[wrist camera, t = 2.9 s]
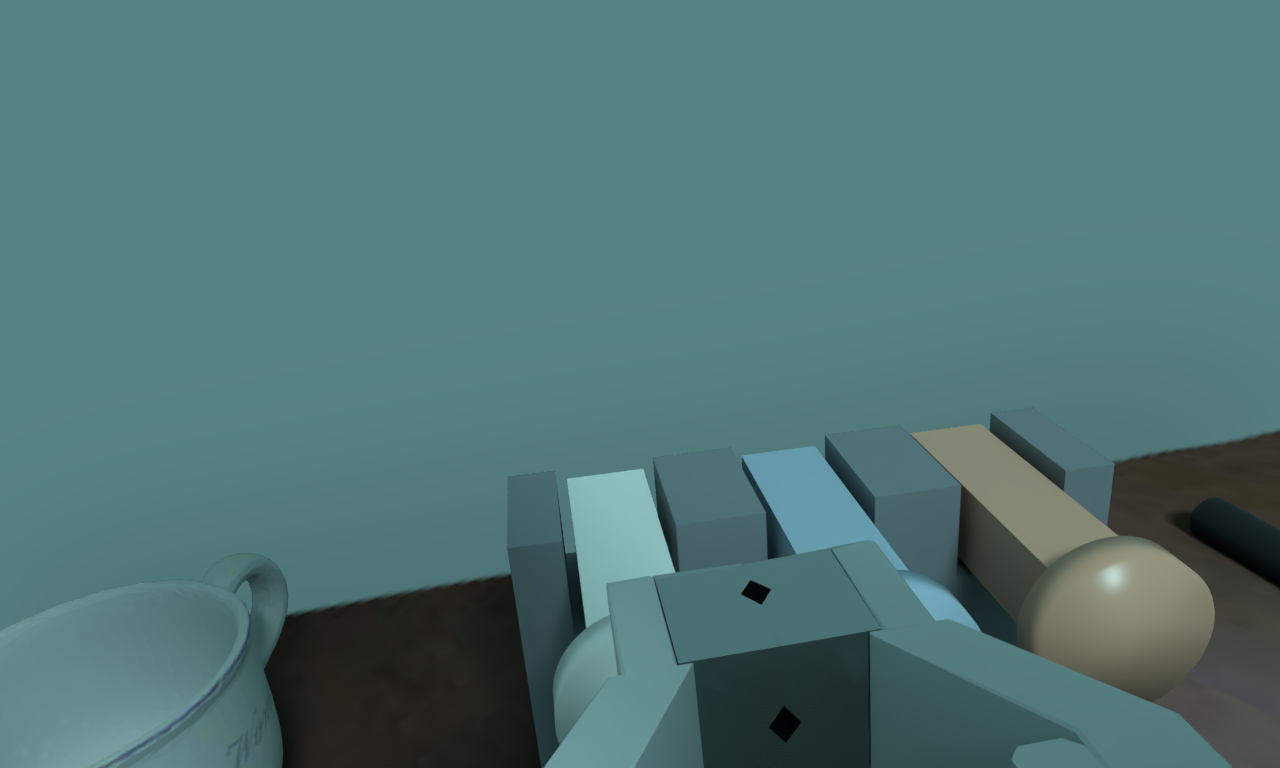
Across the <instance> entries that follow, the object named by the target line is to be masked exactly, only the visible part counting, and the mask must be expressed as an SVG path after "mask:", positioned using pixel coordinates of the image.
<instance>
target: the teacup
mask: <svg viewBox="0 0 1280 768" xmlns="http://www.w3.org/2000/svg"><path fill="white" fill-rule="evenodd" d="M245 580H247V581H248V583H249V585H250V588H251V591H252V610H251V615H249V612H248V610H247V607H246V605H245V603H244V602H243V601H242V600H241V599H240V598H239V597H238V596H236V595H235V593H236V591H237V589H238V588H239V586H240V585H241V583H243V582H244V581H245ZM287 607H288V591H287V585H286V581H285V579H284V576H283V574H282V572H281V571H280V569H279V568H278V566H277V565H276V564H275V563H274V562H273V561H271V560H270V559H269V558H266V557H264V556H262V555H259V554H251V553H240V554H235V555H230V556H227V557H225V558H223V559H221V560H220V561H218V562H217V563H216V564H215V565H214V566H213V567H212V568H211V569H210V570H209V571H208V572H207V573H206V574H205V576H204V578H203V580H202V582H201V581H194V580H164V581H155V582H142V583H138V584H132V585H126V586H120V587H115V588H110V589H107V590H105V591H101V592H97V593H93V594H90V595H88V596H86V597H83V598H79V599H75V600H72V601H69V602H66V603H63V604H60V605H58V606H54V607H52V608H49V609H47V610H45V611H43V612H41V613H39V614H36V615H33V616H31V617H28V618H26V619H25V620H22V621H20V622H18V623H15V624H13V625H11V626H9V627H7V628H6V629H3V630H1V631H0V768H282V761H283V745H282V734H281V729H280V724H279V719H278V715H277V712H276V708H275V704H274V701H273V697H272V694H271V691H270V688H269V685H268V682H267V679H266V676H265V673H264V668H265V666H266V664H267V662H268V660H269V658H270V656H271V654H272V652H273V650H274V648H275V646H276V644H277V641H278V639H279V636H280V634H281V631H282V628H283V625H284V622H285V617H286V612H287Z"/></svg>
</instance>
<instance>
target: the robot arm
mask: <svg viewBox="0 0 1280 768" xmlns="http://www.w3.org/2000/svg"><path fill="white" fill-rule="evenodd" d="M606 591H607V598H608V606H609V613H610V621H611V628H612V636H613V643H614V651H615V658H616V666H617V673H618V676H613V677H609V678H608V679H607V680H606V681H605V683H604V684H603V686H602V687H601V688H600V690H599V691H598V693H597V694H596V695H595V697H594V698H593V700H592V701H591V702H590V704H589V705H588V706H587V708H586V709H585V711H584V712H583V713H582V715H581V716H580V718H579V719H578V720H577V722H576V723H575V725H574V726H573V727H572V729H571V730H570V732H569V733H568V734H567V736H566V737H565V739H564V740H563V741H562V743H561V744H560V745H559V747H558V748H557V750H556V751H555V752H554V754H553V755H552V757H551V758H550V759H549V761H548V762H547V764H546V765H545V766H544V768H1233V767H1232V766H1231V765H1230V764H1229V763H1228V762H1227V761H1226V760H1225V759H1224V758H1223V757H1221V756H1220V755H1219V754H1218V753H1217V752H1216V751H1215V750H1214V749H1213V748H1212V747H1211V746H1210V745H1209V744H1208V743H1207V742H1206V741H1205V740H1204V739H1203V738H1202V737H1201V736H1200V735H1199V734H1198V733H1197V732H1196V731H1195V730H1194V729H1193V728H1192V727H1191V726H1190V725H1189V724H1188V723H1187V722H1186V721H1185V720H1184V719H1183V718H1182V717H1181V716H1180V715H1179V714H1178V713H1175V712H1173V711H1171V710H1168V709H1166V708H1163V707H1161V706H1159V705H1156V704H1154V703H1151V702H1149V701H1146V700H1144V699H1142V698H1139V697H1137V696H1134V695H1132V694H1130V693H1127V692H1125V691H1122V690H1120V689H1117V688H1115V687H1113V686H1110V685H1108V684H1105V683H1103V682H1100V681H1098V680H1096V679H1093V678H1091V677H1088V676H1086V675H1084V674H1081V673H1079V672H1076V671H1074V670H1071V669H1069V668H1067V667H1064V666H1062V665H1059V664H1057V663H1055V662H1052V661H1050V660H1047V659H1045V658H1042V657H1040V656H1038V655H1035V654H1033V653H1030V652H1028V651H1025V650H1023V649H1021V648H1018V647H1016V646H1013V645H1011V644H1009V643H1006V642H1004V641H1001V640H999V639H996V638H994V637H992V636H989V635H987V634H984V633H982V632H980V631H977V630H975V629H972V628H970V627H967V626H965V625H963V624H960V623H958V622H955V621H953V620H950V619H944V620H938V621H935V620H934V618H933V617H932V616H931V614H930V613H929V612H928V610H927V609H926V608H925V606H924V605H923V604H922V603H921V601H920V600H919V599H918V597H917V596H916V595H915V593H914V592H913V591H912V589H911V588H910V587H909V585H908V584H907V583H906V582H905V580H904V579H903V578H902V576H901V575H900V574H899V572H898V571H897V570H896V568H895V567H894V566H893V564H892V563H891V562H890V561H889V559H888V558H887V557H886V555H885V554H884V553H883V551H882V550H881V549H880V547H879V546H878V545H877V543H875V542H873V541H871V540H865V541H860V542H855V543H850V544H845V545H840V546H835V547H830V548H826V549H822V550H816V551H811V552H806V553H801V554H795V555H790V556H785V557H779V558H774V559H769V560H763V561H758V562H753V563H747V564H741V563H739V564H732V565H725V566H718V567H711V568H704V569H697V570H690V571H683V572H676V573H669V574H662V575H655V576H653V578H652V577H651V576H645V577H640V578H634V579H628V580H622V581H617V582H611V583H607V586H606Z"/></svg>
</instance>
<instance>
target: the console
mask: <svg viewBox="0 0 1280 768" xmlns="http://www.w3.org/2000/svg"><path fill="white" fill-rule="evenodd" d="M990 432H991V433H992V434H993V435H995V436H996V437H997V438H998V439H999V440H1001V441H1002V442H1003V443H1004V444H1006V445H1007V446H1008V447H1009V448H1011V449H1012V450H1013V451H1014V452H1015V453H1017V454H1018V455H1019V456H1020V457H1022V458H1023V459H1024V460H1025V461H1027V462H1028V463H1029V464H1030V465H1032V466H1033V467H1034V468H1035V469H1036V470H1038V471H1039V472H1040V473H1041V474H1043V475H1044V476H1045V477H1046V478H1048V479H1049V480H1050V481H1051V482H1053V483H1054V484H1055V485H1056V486H1057V487H1059V488H1060V489H1061V490H1062V491H1064V492H1065V493H1066V494H1067V495H1069V496H1070V497H1071V498H1072V499H1074V500H1075V501H1076V502H1077V503H1078V504H1080V505H1081V506H1082V507H1083V508H1085V509H1086V510H1087V511H1088V512H1090V513H1091V514H1092V515H1093V516H1094V517H1096V518H1097V519H1098V520H1099V521H1101V522H1102V523H1103V524H1104V525H1106V526H1107V521H1108V513H1109V505H1110V496H1111V488H1112V480H1113V472H1114V463H1112V462H1111V461H1109V460H1108V459H1107V458H1105V457H1103V456H1102V455H1101V454H1099V453H1098V452H1097V451H1095V450H1094V449H1092V448H1091V447H1089V446H1088V445H1087V444H1085V443H1084V442H1082V441H1081V440H1079V439H1078V438H1076V437H1075V436H1073V435H1072V434H1071V433H1069V432H1068V431H1066V430H1065V429H1064V428H1062V427H1061V426H1059V425H1058V424H1056V423H1055V422H1054V421H1052V420H1050V419H1049V418H1048V417H1046V416H1045V415H1043V414H1042V413H1041V412H1039V411H1038V410H1036V409H1035V408H1025V409H1018V410H1010V411H1002V412H996V413H991V419H990ZM825 460H826V462H827V463H828V464H829V466H830V467H831V468H832V469H833V471H834V472H835V473H836V475H837V476H838V477H839V479H840V480H841V481H842V483H843V484H844V485H845V487H846V488H847V489H848V491H849V492H850V493H851V495H852V496H853V497H854V499H855V500H856V501H857V503H858V504H859V505H860V507H861V508H862V509H863V511H864V512H865V513H866V514H867V516H868V517H869V518H870V520H871V521H872V522H873V524H874V525H875V526H876V528H877V529H878V530H879V532H880V533H881V534H882V536H883V537H884V538H885V540H886V541H887V542H888V544H889V545H890V546H891V548H892V549H893V550H894V552H895V553H896V554H897V556H898V557H899V558H900V559H901V561H902V562H903V563H904V565H905V566H906V567H907V569H908V570H909V571H914V572H918V573H921V574H924V575H927V576H929V577H931V578H933V579H935V580H937V581H938V582H940V583H942V584H943V585H944V586H945V587H946V588H947V589H949V590H950V591H951V593H952V594H953V595H954V596H955V598H956V599H957V600H958V601H959V603H960V604H961V605H962V606H963V607H964V609H965V610H966V611H967V612H968V614H969V615H970V616H971V617H972V619H973V620H974V621H975V623H976V624H977V625H978V627H979V629H980V631H981V632H982V633H984V634H987V635H989V636H992V637H994V638H996V639H999V640H1001V641H1004V642H1006V643H1009V644H1011V645H1013V646H1016V647H1018V641H1017V624H1016V622H1015V621H1014V620H1013V619H1012V618H1011V617H1010V616H1009V614H1008V613H1007V612H1006V611H1005V610H1004V609H1003V607H1002V606H1001V605H1000V604H999V603H998V602H997V601H996V599H995V598H994V597H993V596H992V595H991V594H990V593H989V591H988V590H987V589H986V588H985V587H984V586H983V585H982V583H981V582H980V581H979V580H978V579H977V578H976V577H975V575H974V574H973V573H972V572H971V571H970V570H969V568H968V567H967V566H966V565H965V564H964V563H963V562H962V560H961V559H960V558H959V557H958V556H957V555H958V536H959V517H960V499H961V485H960V484H959V483H958V482H957V481H956V480H955V479H954V478H953V477H952V476H951V475H950V474H949V473H948V472H947V471H946V470H945V469H944V468H943V467H942V466H941V465H940V464H939V463H938V462H937V461H936V460H935V459H934V458H933V457H932V456H931V455H930V454H929V453H928V452H927V451H926V450H925V449H924V448H923V447H922V446H921V445H920V444H919V443H918V442H917V441H916V440H915V439H914V438H912V437H911V436H910V435H909V434H908V433H907V432H906V431H905V430H904V429H903V428H902V427H901V426H900V425H897V426H889V427H881V428H873V429H866V430H859V431H851V432H843V433H836V434H828V435H825ZM653 464H654V475H655V488H656V500H657V511H658V519H659V522H660V525H661V528H662V531H663V535H664V538H665V541H666V544H667V547H668V551H669V554H670V557H671V560H672V563H673V567H674V570H675V573H676V572H683V571H690V570H697V569H704V568H711V567H718V566H725V565H732V564H739V563H741V564H747V563H753V562H758V561H763V560H768V557H767V527H766V512H765V510H764V508H763V506H762V504H761V502H760V501H759V499H758V497H757V495H756V493H755V491H754V490H753V488H752V486H751V484H750V482H749V480H748V479H747V477H746V475H745V473H744V471H743V469H742V468H741V466H740V464H739V462H738V460H737V458H736V457H735V455H734V453H733V451H732V449H731V447H730V448H722V449H714V450H707V451H699V452H692V453H684V454H676V455H669V456H661V457H654V458H653ZM507 529H508V530H507V532H508V533H507V534H508V535H507V544H508V545H507V549H508V556H509V562H510V569H511V575H512V582H513V588H514V595H515V601H516V608H517V614H518V621H519V627H520V634H521V640H522V647H523V653H524V660H525V666H526V673H527V679H528V686H529V692H530V699H531V705H532V712H533V718H534V724H535V731H536V737H537V744H538V750H539V757H540V763H541V768H544V766H545V765H546V764H547V762H548V761H549V759H550V758H551V757H552V755H553V754H554V752H555V751H556V750H557V748H558V747H559V742H558V739H557V735H556V730H555V715H554V700H553V682H554V676H555V672H556V669H557V666H558V664H559V662H560V659H561V657H562V656H563V654H564V652H565V651H566V649H567V648H568V647H569V645H570V644H571V643H572V642H573V640H574V639H575V638H576V637H577V636H578V635H579V634H580V633H581V632H583V631H584V630H585V629H586V625H585V617H584V610H583V602H582V594H581V586H580V579H579V571H578V563H577V555H576V553H568V554H565V546H564V538H563V531H562V523H561V515H560V507H559V499H558V492H557V484H556V476H555V471H548V472H540V473H532V474H525V475H517V476H510V477H508V528H507ZM1018 648H1019V647H1018Z"/></svg>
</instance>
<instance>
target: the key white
mask: <svg viewBox="0 0 1280 768" xmlns="http://www.w3.org/2000/svg"><path fill="white" fill-rule="evenodd" d="M567 482H568V491H569V499H570V506H571V515H572V523H573V530H574V539H575V548H576V555H577V563H578V571H579V579H580V586H581V594H582V602H583V610H584V617H585V625H586V629H585V630H584V631H583V632H581V633H580V634H579V635H578V636H577V637H576V638H575V639H574V640H573V642H572V643H571V644H570V645H569V647H568V648H567V649H566V651H565V652H564V654H563V656H562V657H561V659H560V662H559V664H558V666H557V669H556V672H555V676H554V682H553V700H554V715H555V730H556V735H557V739H558V742H559V745H560V744H561V743H562V741H563V740H564V739H565V737H566V736H567V734H568V733H569V732H570V730H571V729H572V727H573V726H574V725H575V723H576V722H577V720H578V719H579V718H580V716H581V715H582V713H583V712H584V711H585V709H586V708H587V706H588V705H589V704H590V702H591V701H592V700H593V698H594V697H595V695H596V694H597V693H598V691H599V690H600V688H601V687H602V686H603V684H604V683H605V681H606V680H607V679H608V678H609V677H613V676H618V673H617V666H616V658H615V651H614V643H613V636H612V628H611V621H610V613H609V606H608V598H607V591H606V586H607V583H611V582H617V581H622V580H628V579H634V578H640V577H645V576H651V577H652V578H653V576H655V575H662V574H669V573H675V570H674V567H673V563H672V560H671V557H670V554H669V551H668V547H667V544H666V541H665V538H664V535H663V531H662V528H661V525H660V522H659V519H658V515H657V512H656V509H655V506H654V502H653V500H652V496H651V493H650V490H649V486H648V483H647V480H646V477H645V474H644V471H643V469H638V470H631V471H623V472H615V473H608V474H601V475H593V476H585V477H578V478H571V479H567Z"/></svg>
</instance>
